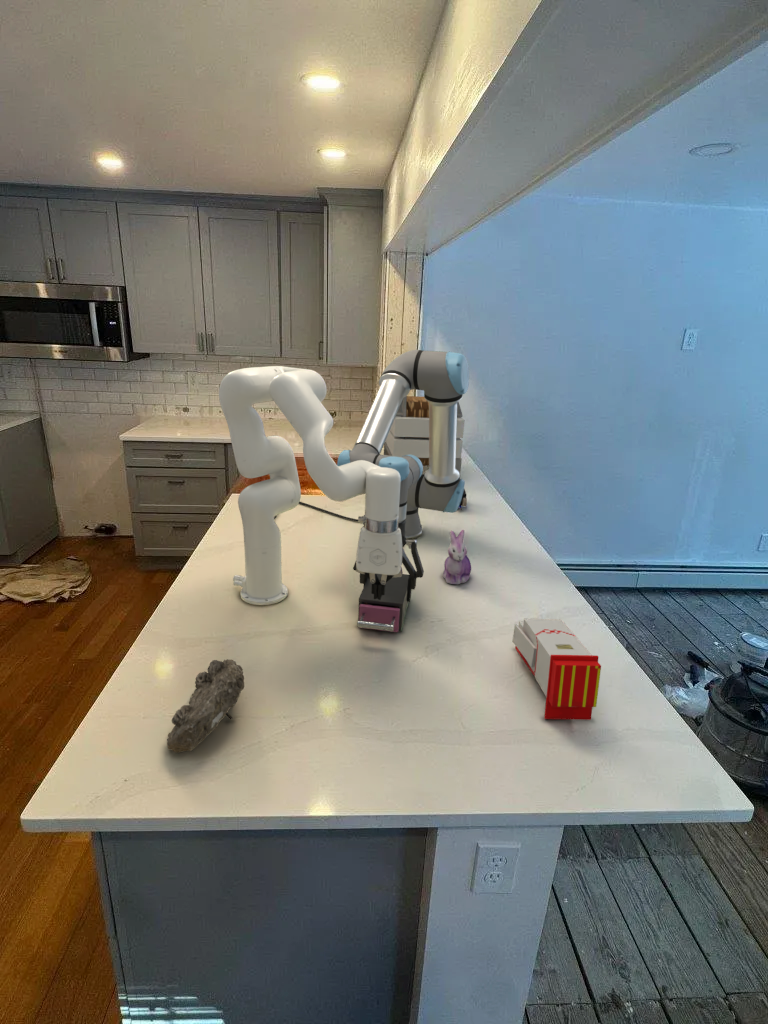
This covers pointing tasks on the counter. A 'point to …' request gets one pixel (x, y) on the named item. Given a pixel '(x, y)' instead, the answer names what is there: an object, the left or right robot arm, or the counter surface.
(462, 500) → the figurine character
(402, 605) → the cabinet
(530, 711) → the counter surface
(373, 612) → the drawer
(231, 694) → the fossil
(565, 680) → the toy
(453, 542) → the figurine
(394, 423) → the white slatted crate
